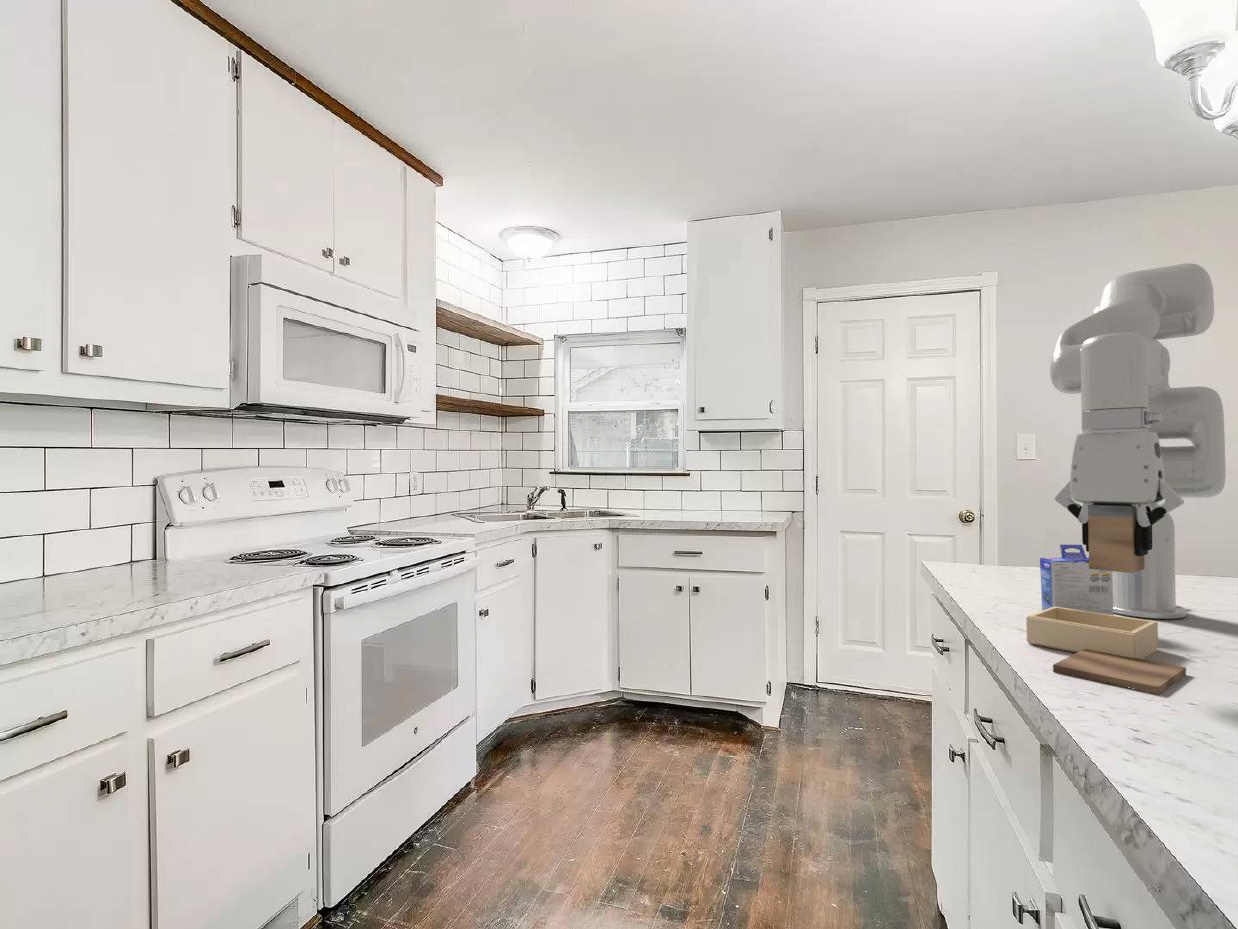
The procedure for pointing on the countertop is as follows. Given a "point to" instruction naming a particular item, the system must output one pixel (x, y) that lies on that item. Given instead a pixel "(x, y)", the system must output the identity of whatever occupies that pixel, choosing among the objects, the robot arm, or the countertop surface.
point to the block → (1113, 538)
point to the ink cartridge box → (1075, 583)
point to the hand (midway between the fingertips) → (1116, 551)
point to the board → (1121, 670)
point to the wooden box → (1092, 632)
